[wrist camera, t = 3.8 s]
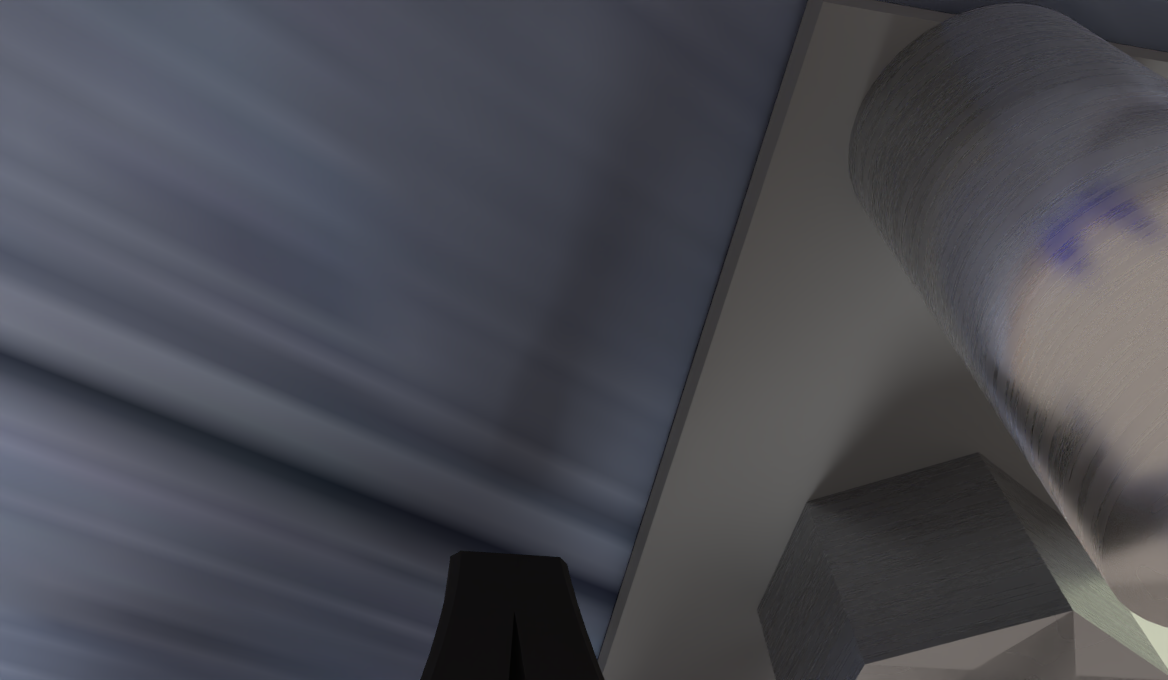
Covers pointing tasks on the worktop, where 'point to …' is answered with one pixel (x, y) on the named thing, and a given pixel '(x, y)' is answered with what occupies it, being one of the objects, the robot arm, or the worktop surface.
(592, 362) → the worktop surface
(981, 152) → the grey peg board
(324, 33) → the worktop surface
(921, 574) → the nut
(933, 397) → the mat
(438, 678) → the robot arm
